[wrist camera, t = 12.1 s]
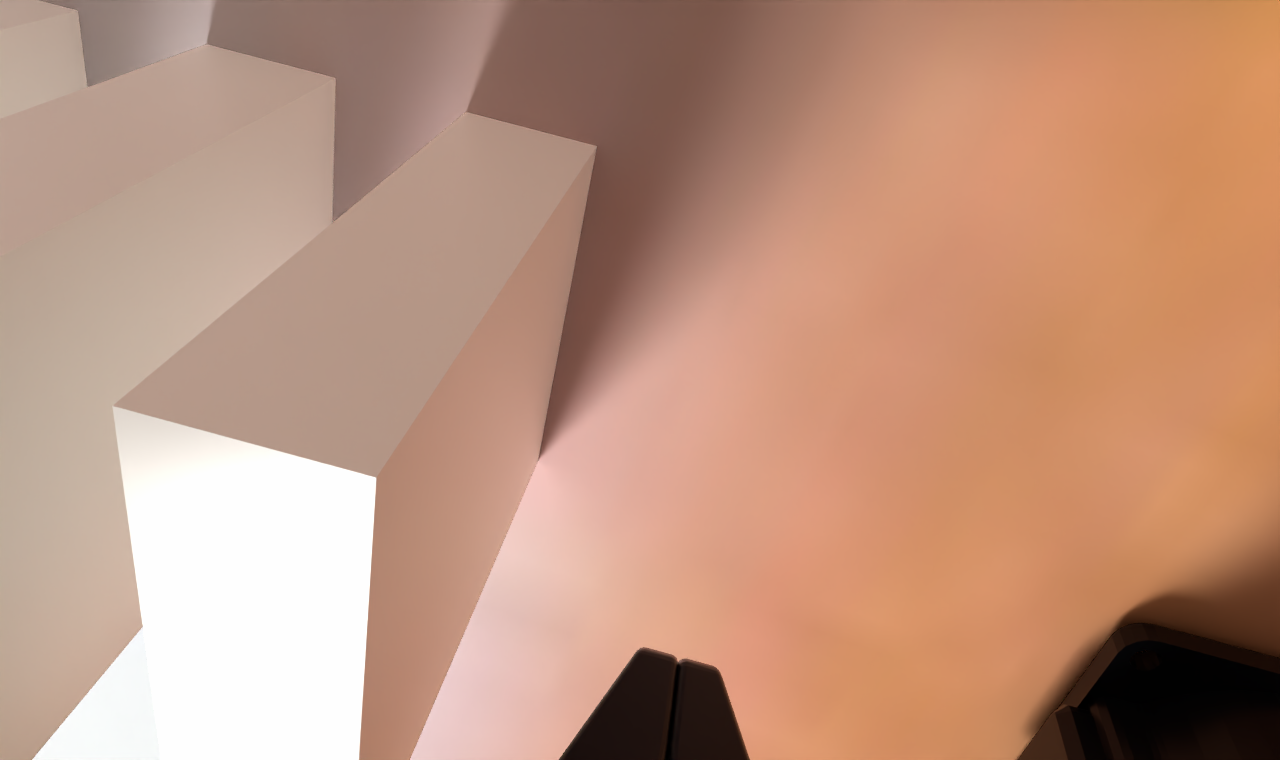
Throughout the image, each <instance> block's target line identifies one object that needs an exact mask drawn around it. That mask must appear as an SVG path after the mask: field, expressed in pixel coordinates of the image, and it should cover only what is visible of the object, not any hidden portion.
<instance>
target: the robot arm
mask: <svg viewBox="0 0 1280 760" xmlns="http://www.w3.org/2000/svg"><path fill="white" fill-rule="evenodd" d="M1144 650H1148V651H1146V652H1143V653H1137V652H1140V651H1144ZM559 760H750V759H749V756H748V753H747V750H746V747H745V744H744V741H743V738H742V735H741V732H740V729H739V726H738V723H737V720H736V717H735V714H734V711H733V708H732V705H731V702H730V699H729V696H728V693H727V690H726V687H725V684H724V681H723V678H722V676H721V674H720V672H719V670H718V669H717V668H716V667H714V666H711V665H708V664H704V663H700V662H697V661H693V660H689V659H682V660H680V661H679V662H677V658H676V657H675V656H673V655H671V654H668V653H664V652H660V651H657V650H653V649H649V648H645V647H643V648H640V649H639V650H637V652H636V653H635V654H634V655H633V657H632V658H631V660H630V661H629V662H628V664H627V665H626V667H625V668H624V669H623V671H622V672H621V674H620V675H619V676H618V678H617V679H616V681H615V682H614V683H613V685H612V686H611V688H610V689H609V690H608V692H607V693H606V695H605V696H604V697H603V699H602V700H601V702H600V703H599V704H598V706H597V707H596V708H595V710H594V711H593V713H592V714H591V715H590V717H589V718H588V720H587V721H586V722H585V724H584V725H583V727H582V728H581V729H580V731H579V732H578V734H577V735H576V736H575V738H574V739H573V741H572V742H571V743H570V745H569V746H568V748H567V749H566V750H565V752H564V753H563V755H562V756H561V757H560V759H559ZM1018 760H1280V658H1276V657H1272V656H1269V655H1265V654H1261V653H1257V652H1254V651H1250V650H1246V649H1243V648H1239V647H1235V646H1231V645H1228V644H1224V643H1220V642H1217V641H1213V640H1209V639H1206V638H1202V637H1198V636H1194V635H1191V634H1187V633H1183V632H1180V631H1176V630H1172V629H1168V628H1165V627H1161V626H1157V625H1154V624H1146V623H1137V624H1130V625H1127V626H1125V627H1123V628H1120V629H1118V630H1117V631H1116V632H1115V633H1114V634H1113V635H1112V636H1111V637H1110V638H1109V640H1108V641H1107V642H1106V644H1105V645H1104V647H1103V648H1102V649H1101V651H1100V652H1099V653H1098V655H1097V656H1096V657H1095V659H1094V660H1093V662H1092V663H1091V664H1090V666H1089V667H1088V668H1087V670H1086V671H1085V672H1084V674H1083V675H1082V677H1081V678H1080V679H1079V681H1078V682H1077V683H1076V685H1075V686H1074V687H1073V689H1072V690H1071V692H1070V693H1069V694H1068V696H1067V697H1066V698H1065V700H1064V701H1063V702H1062V704H1061V705H1060V707H1059V708H1058V709H1057V710H1055V711H1054V712H1053V713H1052V714H1051V715H1050V716H1049V718H1048V719H1047V720H1046V722H1045V723H1044V725H1043V726H1042V727H1041V729H1040V730H1039V731H1038V733H1037V734H1036V736H1035V737H1034V738H1033V740H1032V741H1031V742H1030V744H1029V745H1028V746H1027V748H1026V749H1025V751H1024V752H1023V753H1022V755H1021V756H1020V757H1019V759H1018Z"/></svg>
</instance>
